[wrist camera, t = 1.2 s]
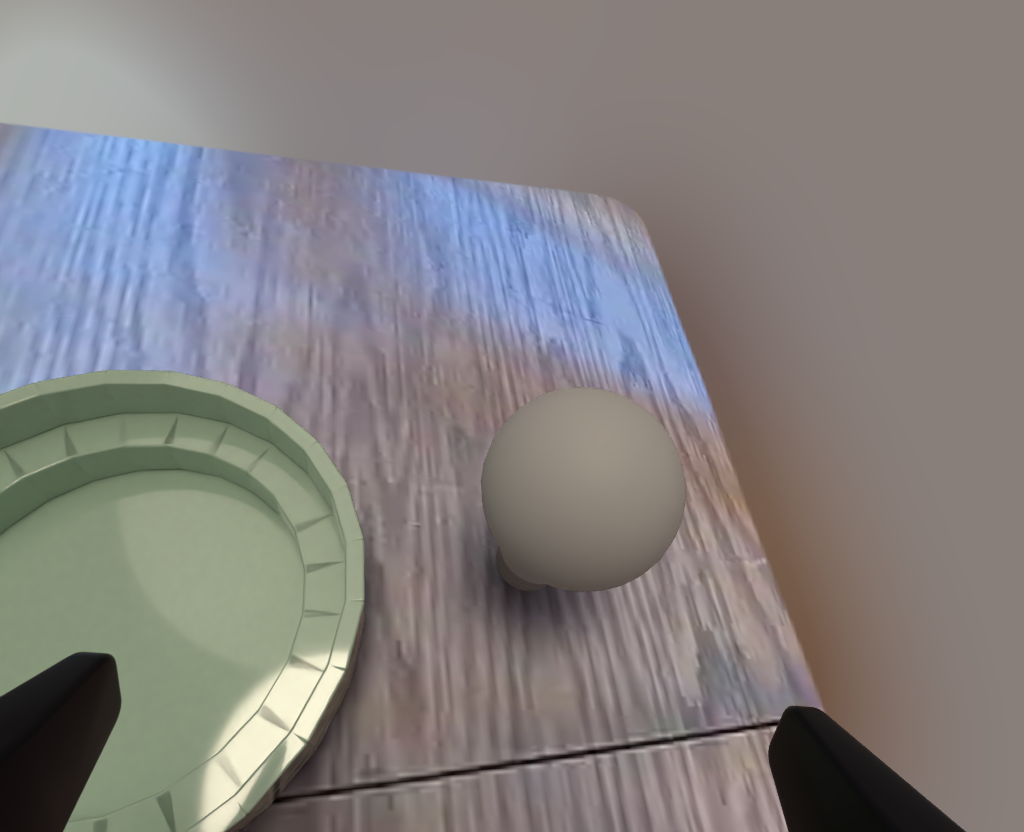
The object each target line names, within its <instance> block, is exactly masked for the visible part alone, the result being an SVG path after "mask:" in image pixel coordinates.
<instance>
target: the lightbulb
mask: <svg viewBox="0 0 1024 832" xmlns="http://www.w3.org/2000/svg"><path fill="white" fill-rule="evenodd" d="M481 489H482V502H483V509H484V513H485V517H486V520H487V524H488V527H489V529H490V531H491V533H492V535H493V537H494V539H495V541H496V543H497V544H498V545H499V548H498V551H497V557H496V560H497V566H498V570H499V572H500V574H501V576H502V577H503V579H504V580H505V581H506V582H507V583H508V584H509V585H511V586H512V587H514V588H516V589H519V590H522V591H535V590H538V589H541V588H543V587H544V586H546V585H550V586H552V587H555V588H558V589H563V590H569V591H575V592H587V591H601V590H606V589H610V588H614V587H618V586H622V585H624V584H626V583H628V582H630V581H632V580H634V579H636V578H638V577H640V576H641V575H642V574H644V573H645V572H646V571H648V570H649V569H650V568H651V567H652V566H653V565H654V564H656V563H657V562H658V561H659V560H660V559H661V558H662V556H663V555H664V553H665V552H666V550H667V549H668V548H669V546H670V545H671V543H672V541H673V540H674V538H675V536H676V534H677V531H678V529H679V526H680V524H681V521H682V517H683V513H684V507H685V501H686V480H685V475H684V470H683V467H682V463H681V459H680V455H679V453H678V451H677V448H676V446H675V444H674V442H673V440H672V438H671V437H670V436H669V434H668V433H667V431H666V430H665V428H664V427H663V426H662V425H661V424H660V423H659V421H658V420H657V419H656V418H655V417H654V416H653V415H652V414H651V413H649V412H648V411H647V410H646V409H644V408H643V407H642V406H641V405H639V404H637V403H635V402H634V401H632V400H630V399H629V398H627V397H625V396H622V395H619V394H617V393H614V392H612V391H608V390H603V389H599V388H588V387H576V388H567V389H559V390H555V391H552V392H549V393H546V394H543V395H541V396H539V397H538V398H536V399H534V400H532V401H531V402H529V403H527V404H526V405H524V406H522V407H521V408H520V409H519V410H517V411H516V412H515V413H514V414H513V415H512V416H511V417H510V418H509V419H508V420H507V421H506V422H505V423H504V424H503V425H502V427H501V428H500V430H499V431H498V433H497V434H496V436H495V437H494V438H493V441H492V443H491V446H490V448H489V451H488V453H487V456H486V459H485V461H484V465H483V471H482V478H481Z"/></svg>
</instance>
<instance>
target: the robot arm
mask: <svg viewBox="0 0 1024 832" xmlns="http://www.w3.org/2000/svg"><path fill="white" fill-rule="evenodd" d="M121 703H122V698H121V691H120V684H119V678H118V671H117V664H116V660H115V658H114V657H113V656H112V655H111V654H108V653H97V652H77V653H74V654H72V655H70V656H68V657H66V658H64V659H63V660H61V661H59V662H58V663H56V664H54V665H53V666H51V667H49V668H48V669H46V670H44V671H43V672H41V673H39V674H37V675H36V676H34V677H32V678H31V679H29V680H27V681H26V682H24V683H22V684H21V685H19V686H17V687H16V688H14V689H12V690H11V691H9V692H7V693H6V694H4V695H2V696H0V832H63V831H64V829H65V827H66V825H67V823H68V821H69V819H70V817H71V814H72V812H73V810H74V808H75V806H76V804H77V802H78V800H79V798H80V796H81V794H82V792H83V790H84V788H85V786H86V784H87V782H88V780H89V777H90V775H91V773H92V771H93V769H94V767H95V765H96V763H97V761H98V759H99V757H100V755H101V753H102V751H103V749H104V747H105V745H106V743H107V741H108V738H109V736H110V734H111V732H112V730H113V728H114V726H115V724H116V722H117V720H118V717H119V714H120V710H121ZM768 757H769V764H770V768H771V772H772V775H773V779H774V782H775V786H776V789H777V793H778V796H779V800H780V803H781V807H782V810H783V814H784V817H785V821H786V824H787V828H788V831H789V832H966V831H964V830H963V829H962V828H961V827H960V826H958V825H957V824H956V823H955V822H954V821H952V820H951V819H950V818H949V817H948V816H947V815H945V814H944V813H943V812H942V811H941V810H939V809H938V808H937V807H936V806H935V805H933V804H932V803H931V802H930V801H929V800H927V799H926V798H925V797H924V796H923V795H922V794H920V793H919V792H918V791H917V790H916V789H914V788H913V787H912V786H911V785H910V784H909V783H907V782H906V781H905V780H904V779H902V778H901V777H900V776H899V775H898V774H897V773H895V772H894V771H893V770H892V769H891V768H890V767H888V766H887V765H886V764H885V763H884V762H882V761H881V760H880V759H879V758H877V757H876V756H875V755H874V754H873V753H872V752H870V751H869V750H868V749H867V748H865V746H863V745H862V744H861V743H860V742H858V741H857V740H856V739H855V738H854V737H853V736H851V735H850V734H849V733H848V732H847V731H846V730H844V729H843V728H842V727H841V726H840V725H838V724H837V723H836V722H835V721H833V720H832V719H831V718H830V717H829V716H828V715H827V714H825V713H824V712H823V711H821V710H819V709H817V708H814V707H803V706H789V707H788V708H787V709H785V711H784V713H783V715H782V717H781V719H780V722H779V724H778V726H777V728H776V731H775V733H774V735H773V738H772V740H771V742H770V745H769V751H768Z"/></svg>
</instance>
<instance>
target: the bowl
mask: <svg viewBox="0 0 1024 832" xmlns="http://www.w3.org/2000/svg"><path fill="white" fill-rule="evenodd" d="M364 618H365V563H364V537H363V533H362V530H361V527H360V523H359V520H358V517H357V514H356V510H355V507H354V504H353V500H352V497H351V494H350V490H349V487H348V486H347V483H346V482H345V480H344V479H343V477H342V476H341V474H340V473H339V471H338V470H337V468H336V466H335V465H334V463H333V462H332V460H331V459H330V457H329V456H328V454H327V453H326V451H325V450H324V448H323V447H322V445H321V444H320V442H318V440H316V439H315V438H314V437H313V436H312V435H310V434H309V433H308V432H307V431H306V430H305V429H303V428H302V427H301V426H300V425H299V424H297V423H296V422H295V421H294V420H293V419H292V418H290V417H289V416H288V415H287V414H286V413H284V412H283V411H282V410H281V409H280V408H278V407H277V406H275V405H273V404H271V403H268V402H266V401H264V400H262V399H260V398H258V397H256V396H254V395H252V394H249V393H247V392H245V391H243V390H241V389H239V388H237V387H235V386H233V385H230V384H228V383H224V382H220V381H215V380H211V379H206V378H201V377H197V376H192V375H188V374H183V373H178V372H174V371H146V370H106V371H97V372H92V373H86V374H80V375H74V376H68V377H62V378H56V379H50V380H45V381H39V382H37V383H31V384H29V385H26V386H23V387H20V388H17V389H14V390H11V391H9V392H6V393H3V394H0V696H2V695H4V694H6V693H7V692H9V691H11V690H12V689H14V688H16V687H17V686H19V685H21V684H22V683H24V682H26V681H27V680H29V679H31V678H32V677H34V676H36V675H37V674H39V673H41V672H43V671H44V670H46V669H48V668H49V667H51V666H53V665H54V664H56V663H58V662H59V661H61V660H63V659H64V658H66V657H68V656H70V655H72V654H74V653H77V652H97V653H108V654H111V655H112V656H113V657H114V658H115V660H116V664H117V671H118V678H119V684H120V691H121V698H122V703H121V710H120V714H119V717H118V720H117V722H116V724H115V726H114V728H113V730H112V732H111V734H110V736H109V738H108V741H107V743H106V745H105V747H104V749H103V751H102V753H101V755H100V757H99V759H98V761H97V763H96V765H95V767H94V769H93V771H92V773H91V775H90V777H89V780H88V782H87V784H86V786H85V788H84V790H83V792H82V794H81V796H80V798H79V800H78V802H77V804H76V806H75V808H74V810H73V812H72V814H71V817H70V819H69V821H68V823H67V825H66V827H65V829H64V831H63V832H238V831H239V830H241V829H242V828H243V827H245V826H246V825H247V824H248V823H250V822H251V821H252V820H254V819H255V818H256V817H257V816H259V815H260V814H261V813H263V812H264V811H265V810H266V808H268V807H269V806H270V805H271V804H272V803H273V801H274V800H275V799H276V798H277V797H278V795H279V794H280V793H281V792H282V791H283V789H284V788H285V787H286V786H287V785H288V783H289V782H290V781H291V780H292V779H293V777H294V776H295V775H296V774H297V773H298V772H299V770H300V769H301V768H302V767H303V766H304V764H305V763H306V762H307V761H308V760H309V758H310V757H311V756H312V755H313V754H314V752H315V751H316V748H318V747H319V745H320V743H321V741H322V739H323V737H324V735H325V733H326V731H327V729H328V728H329V726H330V724H331V722H332V720H333V718H334V716H335V714H336V712H337V710H338V708H339V706H340V704H341V703H342V701H343V699H344V697H345V695H346V693H347V691H348V689H349V685H350V683H351V679H352V675H353V671H354V667H355V663H356V659H357V655H358V651H359V647H360V643H361V639H362V635H363V631H364Z"/></svg>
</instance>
